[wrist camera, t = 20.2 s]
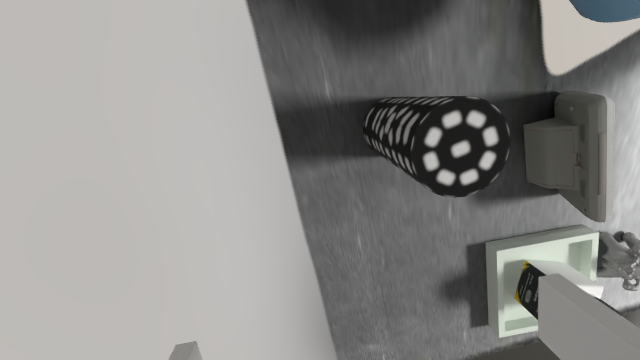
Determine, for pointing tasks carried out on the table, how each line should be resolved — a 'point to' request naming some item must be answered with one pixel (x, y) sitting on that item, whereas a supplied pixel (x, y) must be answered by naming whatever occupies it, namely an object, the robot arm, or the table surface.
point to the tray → (553, 246)
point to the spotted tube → (441, 140)
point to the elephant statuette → (621, 259)
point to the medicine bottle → (535, 269)
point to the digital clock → (575, 152)
